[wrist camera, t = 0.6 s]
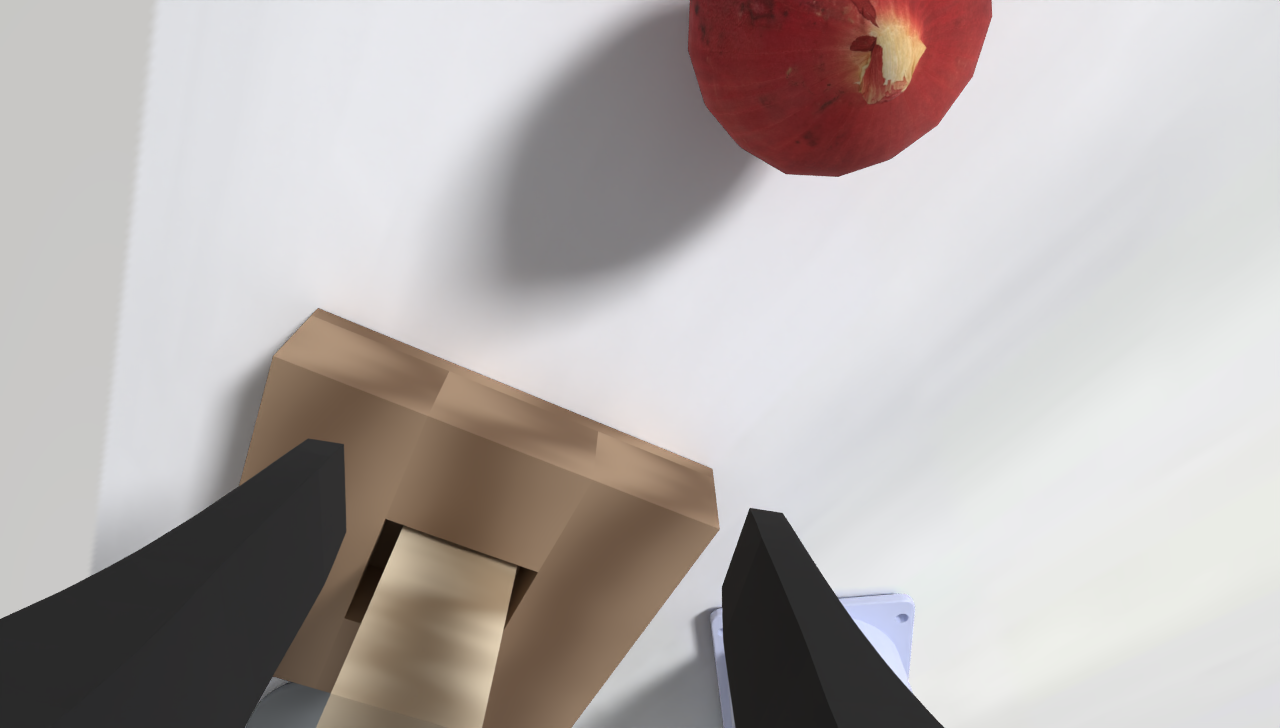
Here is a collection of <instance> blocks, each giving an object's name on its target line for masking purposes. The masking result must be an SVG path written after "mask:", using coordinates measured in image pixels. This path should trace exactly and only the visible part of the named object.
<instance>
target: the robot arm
mask: <svg viewBox="0 0 1280 728" xmlns="http://www.w3.org/2000/svg"><path fill="white" fill-rule="evenodd" d="M346 532H347V531H346V496H345V460H344V444H341V443H334V442H328V441H322V440H315V439H309V438H308V439H307V440H305V441H303V442H302V443H301V444H299V445H298V446H296V447H295V448H293V449H292V450H290V451H289V452H287V453H286V454H284V455H283V456H282V457H280V458H279V459H277V460H276V461H274V462H273V463H272V464H270V465H269V466H267V467H266V468H265V469H263V470H262V471H260V472H259V473H257V474H256V475H255V476H253V477H252V478H250V479H249V480H247V481H246V482H245V483H243V484H242V485H240V486H239V487H237V488H236V489H234V490H233V491H231V492H230V493H228V494H227V495H225V496H224V497H222V498H221V499H219V500H218V501H216V502H215V503H213V504H212V505H210V506H209V507H207V508H206V509H204V510H203V511H202V512H200V513H198V514H197V515H195V516H194V517H192V518H191V519H189V520H187V521H186V522H184V523H183V524H181V525H179V526H178V527H176V528H174V529H173V530H171V531H170V532H168V533H166V534H165V535H163V536H161V537H160V538H158V539H156V540H155V541H153V542H152V543H150V544H148V545H147V546H145V547H143V548H142V549H140V550H138V551H136V552H135V553H133V554H131V555H129V556H128V557H126V558H124V559H122V560H120V561H118V562H117V563H115V564H113V565H111V566H109V567H107V568H105V569H104V570H102V571H100V572H98V573H96V574H94V575H92V576H90V577H88V578H86V579H84V580H82V581H80V582H79V583H77V584H75V585H73V586H71V587H69V588H67V589H65V590H63V591H61V592H58V593H56V594H54V595H52V596H50V597H48V598H45V599H43V600H41V601H39V602H37V603H34V604H32V605H30V606H28V607H26V608H23V609H21V610H19V611H17V612H15V613H12V614H10V615H8V616H6V617H4V618H2V619H0V728H245V726H246V724H247V722H248V720H249V718H250V716H251V714H252V712H253V710H254V709H255V707H256V705H257V703H258V701H259V699H260V698H261V696H262V694H263V692H264V691H265V689H266V687H267V685H268V684H269V682H270V680H271V678H272V677H273V675H274V673H275V671H276V670H277V668H278V666H279V664H280V663H281V661H282V659H283V657H284V656H285V654H286V652H287V650H288V649H289V647H290V645H291V643H292V642H293V640H294V638H295V636H296V635H297V633H298V631H299V629H300V628H301V626H302V624H303V622H304V621H305V619H306V617H307V615H308V613H309V612H310V610H311V608H312V606H313V605H314V603H315V601H316V599H317V597H318V596H319V594H320V592H321V590H322V588H323V587H324V585H325V582H326V580H327V578H328V575H329V573H330V571H331V568H332V566H333V564H334V561H335V559H336V557H337V554H338V552H339V549H340V547H341V544H342V542H343V539H344V537H345V534H346ZM914 615H915V604H914V602H913V599H912V598H911V597H910V596H909V595H907V594H889V595H877V596H864V597H852V598H840V599H838V597H837V596H836V595H835V593H834V592H833V590H832V589H831V587H830V586H829V584H828V583H827V581H826V580H825V578H824V577H823V575H822V574H821V572H820V571H819V569H818V568H817V566H816V564H815V563H814V561H813V560H812V558H811V557H810V555H809V554H808V552H807V550H806V549H805V547H804V546H803V544H802V543H801V541H800V539H799V538H798V536H797V535H796V533H795V531H794V530H793V528H792V527H791V525H790V524H789V522H788V521H787V519H786V518H785V516H784V515H783V513H779V512H772V511H766V510H760V509H753V508H750V509H749V512H748V515H747V517H746V520H745V523H744V526H743V529H742V532H741V534H740V537H739V540H738V543H737V546H736V549H735V551H734V554H733V557H732V560H731V563H730V566H729V569H728V571H727V574H726V577H725V580H724V583H723V586H722V608H720V609H717V610H715V611H713V612H712V613H711V616H710V622H711V630H712V638H713V646H714V655H715V663H716V671H717V679H718V687H719V695H720V703H721V711H722V719H723V727H724V728H944V727H943V726H942V725H941V724H940V723H939V722H938V721H937V720H936V719H935V717H934V716H933V715H932V714H931V713H930V712H929V711H928V710H927V709H926V708H925V707H924V706H923V705H922V703H921V702H920V701H919V700H918V699H917V698H916V697H915V696H914V694H913V692H912V689H911V686H910V683H909V670H910V659H911V648H912V637H913V626H914Z"/></svg>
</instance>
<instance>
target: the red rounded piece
mask: <svg viewBox="0 0 1280 728" xmlns="http://www.w3.org/2000/svg"><path fill="white" fill-rule="evenodd" d="M991 18H992V2H991V0H690V11H689V35H688V52H689V55H690V58H691V61H692V65H693V68H694V71H695V74H696V78H697V81H698V84H699V87H700V91H701V94H702V97H703V100H704V103H705V105H706V106H707V108H708V109H709V111H710V112H711V113H712V114H713V116H714V117H715V118H716V119H717V120H718V122H719V123H720V124H721V125H722V126H723V128H724V129H725V130H726V131H727V132H728V134H729V135H730V136H731V137H732V138H733V140H734V141H735V142H736V143H737V144H738V145H739V146H740V147H741V148H742V149H744V150H746V151H747V152H749V153H751V154H753V155H754V156H756V157H758V158H759V159H761V160H763V161H764V162H766V163H768V164H770V165H771V166H773V167H775V168H776V169H778V170H780V171H781V172H783V173H785V174H793V175H813V176H834V177H839V176H842V175H845V174H848V173H851V172H854V171H857V170H860V169H863V168H866V167H869V166H872V165H875V164H878V163H881V162H884V161H887V160H890V159H891V158H893V157H894V156H896V155H897V154H899V153H900V152H901V151H903V150H904V149H905V148H907V147H908V146H910V145H911V144H912V143H914V142H915V141H916V140H918V139H919V138H921V137H922V136H923V135H925V134H926V133H927V132H929V131H930V130H932V129H933V128H934V127H936V126H937V125H938V124H939V122H940V121H941V120H942V118H943V117H944V116H945V114H946V113H947V111H948V110H949V109H950V107H951V106H952V104H953V103H954V102H955V100H956V99H957V97H958V96H959V95H960V93H961V92H962V90H963V89H964V88H965V86H966V85H967V84H968V82H969V81H970V79H971V78H972V77H973V74H974V71H975V68H976V65H977V62H978V58H979V55H980V52H981V49H982V46H983V43H984V40H985V37H986V34H987V30H988V27H989V24H990V21H991Z"/></svg>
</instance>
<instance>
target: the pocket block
mask: <svg viewBox="0 0 1280 728" xmlns="http://www.w3.org/2000/svg"><path fill="white" fill-rule="evenodd" d="M308 438H309V439H315V440H322V441H328V442H334V443H341V444H344V460H345V496H346V531H347V532H346V534H345V537H344V539H343V542H342V544H341V547H340V549H339V552H338V554H337V557H336V559H335V561H334V564H333V566H332V568H331V571H330V573H329V575H328V578H327V580H326V582H325V585H324V587H323V588H322V590H321V592H320V594H319V596H318V597H317V599H316V601H315V603H314V605H313V606H312V608H311V610H310V612H309V613H308V615H307V617H306V619H305V621H304V622H303V624H302V626H301V628H300V629H299V631H298V633H297V635H296V636H295V638H294V640H293V642H292V643H291V645H290V647H289V649H288V650H287V652H286V654H285V656H284V657H283V659H282V661H281V663H280V664H279V666H278V668H277V670H276V671H275V673H274V675H273V677H277V678H280V679H283V680H287V681H290V682H294V683H297V684H301V685H304V686H308V687H311V688H314V689H318V690H321V691H325V692H328V693H331V692H332V690H333V687H334V685H335V683H336V680H337V678H338V676H339V673H340V671H341V669H342V666H343V664H344V662H345V660H346V657H347V655H348V653H349V650H350V648H351V646H352V643H353V641H354V639H355V636H356V634H357V632H358V629H359V627H360V625H361V623H362V620H363V618H364V616H365V613H366V611H367V609H368V606H369V604H370V602H371V599H372V597H373V595H374V592H375V590H376V588H377V586H378V583H379V581H380V579H381V576H382V574H383V572H384V569H385V567H386V565H387V562H388V560H389V558H390V556H391V553H392V551H393V549H394V546H395V544H396V542H397V539H398V537H399V535H400V532H401V530H402V528H403V526H404V525H405V526H407V527H410V528H413V529H416V530H419V531H422V532H425V533H427V534H430V535H433V536H436V537H439V538H442V539H445V540H447V541H450V542H453V543H456V544H459V545H462V546H464V547H467V548H470V549H473V550H476V551H479V552H482V553H484V554H487V555H490V556H493V557H496V558H499V559H502V560H504V561H507V562H510V563H513V564H516V565H517V570H516V574H515V579H514V583H513V588H512V593H511V597H510V602H509V606H508V611H507V615H506V620H505V625H504V629H503V634H502V638H501V643H500V648H499V652H498V657H497V661H496V666H495V671H494V675H493V680H492V684H491V689H490V693H489V698H488V703H487V707H486V712H485V716H484V721H483V726H482V728H571V727H572V726H573V725H574V723H575V722H576V721H577V719H578V718H579V717H580V715H581V714H582V713H583V711H584V710H585V709H586V707H587V706H588V705H589V703H590V702H591V701H592V699H593V698H594V697H595V695H596V694H597V693H598V691H599V690H600V689H601V687H602V686H603V685H604V683H605V682H606V681H607V679H608V678H609V677H610V675H611V674H612V673H613V671H614V670H615V669H616V667H617V666H618V665H619V663H620V662H621V661H622V659H623V658H624V657H625V655H626V654H627V653H628V651H629V650H630V648H631V647H632V646H633V644H634V643H635V642H636V640H637V639H638V638H639V636H640V635H641V634H642V632H643V631H644V630H645V628H646V627H647V626H648V624H649V623H650V622H651V620H652V619H653V618H654V616H655V615H656V614H657V612H658V611H659V610H660V608H661V607H662V606H663V604H664V603H665V602H666V600H667V599H668V598H669V596H670V595H671V594H672V592H673V591H674V590H675V588H676V587H677V586H678V584H679V583H680V582H681V580H682V579H683V578H684V576H685V575H686V574H687V572H688V571H689V570H690V568H691V567H692V566H693V564H694V563H695V562H696V560H697V559H698V558H699V556H700V555H701V553H702V552H703V551H704V549H705V548H706V547H707V545H708V544H709V543H710V541H711V540H712V539H713V537H714V536H715V535H716V533H717V532H718V531H719V529H720V528H719V520H718V511H717V503H716V495H715V486H714V478H713V470H712V469H711V468H709V467H706V466H704V465H701V464H699V463H696V462H694V461H692V460H689V459H687V458H684V457H682V456H679V455H677V454H674V453H672V452H670V451H667V450H665V449H662V448H660V447H657V446H655V445H652V444H650V443H647V442H645V441H643V440H640V439H638V438H635V437H633V436H630V435H628V434H625V433H623V432H620V431H618V430H616V429H613V428H611V427H608V426H606V425H603V424H601V423H598V422H596V421H593V420H591V419H589V418H586V417H584V416H581V415H579V414H576V413H574V412H571V411H569V410H567V409H564V408H562V407H559V406H557V405H554V404H552V403H549V402H547V401H544V400H542V399H540V398H537V397H535V396H532V395H530V394H527V393H525V392H522V391H520V390H517V389H515V388H513V387H510V386H508V385H505V384H503V383H500V382H498V381H495V380H493V379H490V378H488V377H486V376H483V375H481V374H478V373H476V372H473V371H471V370H468V369H466V368H464V367H461V366H459V365H456V364H454V363H451V362H449V361H446V360H444V359H441V358H439V357H437V356H434V355H432V354H429V353H427V352H424V351H422V350H419V349H417V348H414V347H412V346H410V345H407V344H405V343H402V342H400V341H397V340H395V339H392V338H390V337H387V336H385V335H383V334H380V333H378V332H375V331H373V330H370V329H368V328H365V327H363V326H361V325H358V324H356V323H353V322H351V321H348V320H346V319H343V318H341V317H338V316H336V315H334V314H331V313H329V312H326V311H324V310H321V309H319V308H318V309H317V310H316V311H315V312H314V313H313V314H312V315H311V316H310V317H309V318H308V319H307V321H306V322H305V323H304V324H303V325H302V326H301V327H300V328H299V329H298V330H297V331H296V332H295V333H294V334H293V335H292V336H291V338H290V339H289V340H288V341H287V342H286V343H285V344H284V345H283V346H282V347H281V348H280V349H279V350H278V351H277V352H276V354H275V355H274V356H273V358H272V362H271V366H270V370H269V374H268V377H267V381H266V385H265V389H264V393H263V397H262V400H261V404H260V408H259V412H258V416H257V419H256V423H255V427H254V431H253V435H252V438H251V442H250V446H249V450H248V454H247V458H246V461H245V465H244V469H243V473H242V477H241V480H240V484H239V486H240V485H242V484H243V483H245V482H246V481H247V480H249V479H250V478H252V477H253V476H255V475H256V474H257V473H259V472H260V471H262V470H263V469H265V468H266V467H267V466H269V465H270V464H272V463H273V462H274V461H276V460H277V459H279V458H280V457H282V456H283V455H284V454H286V453H287V452H289V451H290V450H292V449H293V448H295V447H296V446H298V445H299V444H301V443H302V442H303V441H305V440H307V439H308Z"/></svg>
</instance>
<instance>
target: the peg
mask: <svg viewBox="0 0 1280 728" xmlns="http://www.w3.org/2000/svg"><path fill="white" fill-rule="evenodd" d="M516 570H517V565H516V564H513V563H510V562H507V561H504V560H502V559H499V558H496V557H493V556H490V555H487V554H484V553H482V552H479V551H476V550H473V549H470V548H467V547H464V546H462V545H459V544H456V543H453V542H450V541H447V540H445V539H442V538H439V537H436V536H433V535H430V534H427V533H425V532H422V531H419V530H416V529H413V528H410V527H407V526H405V525H404V526H403V528H402V530H401V532H400V535H399V537H398V539H397V542H396V544H395V546H394V549H393V551H392V553H391V556H390V558H389V560H388V562H387V565H386V567H385V569H384V572H383V574H382V576H381V579H380V581H379V583H378V586H377V588H376V590H375V592H374V595H373V597H372V599H371V602H370V604H369V606H368V609H367V611H366V613H365V616H364V618H363V620H362V623H361V625H360V627H359V629H358V632H357V634H356V636H355V639H354V641H353V643H352V646H351V648H350V650H349V653H348V655H347V657H346V660H345V662H344V664H343V666H342V669H341V671H340V673H339V676H338V678H337V680H336V683H335V685H334V687H333V690H332V692H331V694H330V697H329V699H328V701H327V703H326V706H325V708H324V710H323V713H322V715H321V717H320V720H319V722H318V724H317V727H316V728H482V726H483V721H484V716H485V712H486V707H487V703H488V698H489V693H490V689H491V684H492V680H493V675H494V671H495V666H496V661H497V657H498V652H499V648H500V643H501V638H502V634H503V629H504V625H505V620H506V615H507V611H508V606H509V602H510V597H511V593H512V588H513V583H514V579H515V574H516Z"/></svg>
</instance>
